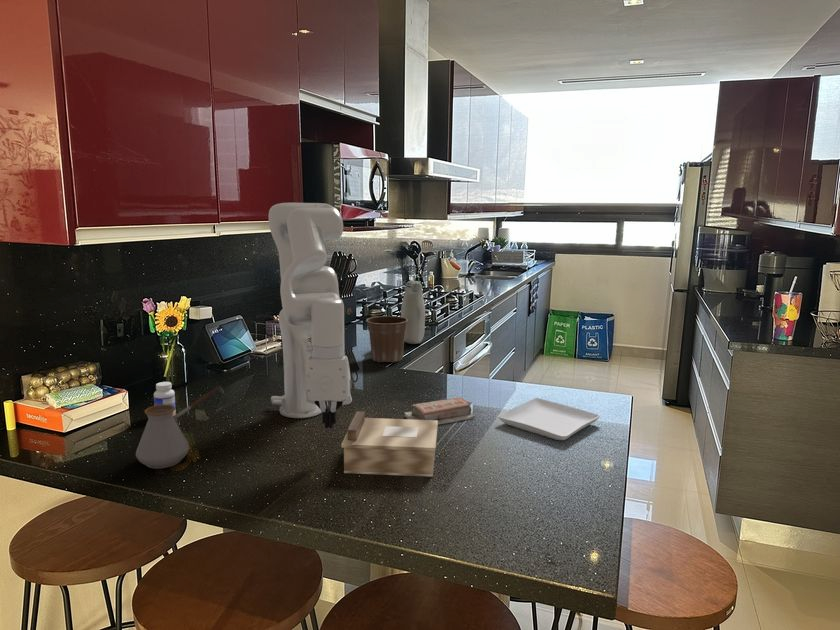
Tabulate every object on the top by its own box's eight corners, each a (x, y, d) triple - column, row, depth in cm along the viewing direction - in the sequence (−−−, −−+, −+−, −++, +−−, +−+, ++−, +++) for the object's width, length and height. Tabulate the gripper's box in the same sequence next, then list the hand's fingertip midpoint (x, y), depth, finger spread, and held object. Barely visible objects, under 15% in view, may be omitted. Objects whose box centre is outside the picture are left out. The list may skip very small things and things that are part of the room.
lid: (341, 447, 127) (341, 433, 127) (354, 420, 144) (354, 408, 143) (435, 451, 126) (435, 437, 126) (437, 423, 142) (438, 410, 142)
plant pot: (357, 359, 224) (357, 319, 221) (386, 352, 237) (386, 314, 234) (387, 367, 214) (387, 325, 211) (415, 359, 226) (416, 319, 223)
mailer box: (344, 472, 129) (343, 448, 128) (356, 444, 144) (356, 421, 143) (432, 476, 128) (433, 451, 126) (435, 447, 143) (435, 424, 142)
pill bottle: (152, 416, 162) (149, 383, 160) (171, 411, 165) (168, 379, 164) (160, 421, 158) (157, 387, 156) (179, 416, 162) (177, 383, 160)
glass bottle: (396, 343, 252) (397, 280, 247) (413, 339, 259) (414, 278, 254) (411, 347, 245) (412, 282, 240) (428, 343, 252) (430, 280, 247)
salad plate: (564, 448, 144) (565, 435, 144) (495, 426, 158) (495, 414, 158) (601, 425, 160) (602, 414, 159) (535, 407, 174) (535, 396, 173)
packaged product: (458, 393, 171) (475, 403, 163) (457, 408, 172) (475, 419, 164) (403, 401, 163) (419, 413, 155) (403, 417, 164) (419, 429, 156)
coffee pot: (149, 477, 126) (143, 412, 123) (128, 461, 133) (123, 400, 130) (237, 448, 141) (234, 390, 138) (214, 435, 149) (211, 380, 146)
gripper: (291, 354, 129) (294, 431, 132) (357, 356, 128) (358, 433, 131) (300, 346, 136) (302, 419, 140) (362, 348, 135) (363, 421, 139)
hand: (329, 426), depth 135 cm, fingers closed
